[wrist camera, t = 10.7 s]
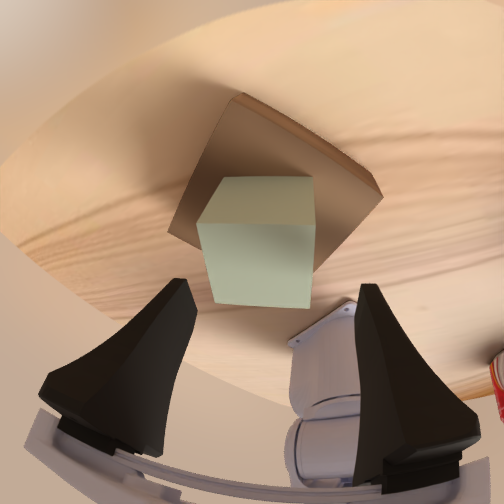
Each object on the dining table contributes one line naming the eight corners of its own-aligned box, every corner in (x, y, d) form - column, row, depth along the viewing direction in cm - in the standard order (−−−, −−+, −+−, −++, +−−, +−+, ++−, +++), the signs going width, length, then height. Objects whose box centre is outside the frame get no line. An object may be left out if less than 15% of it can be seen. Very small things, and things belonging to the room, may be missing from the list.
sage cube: (310, 249, 18) (309, 308, 14) (233, 247, 19) (214, 303, 15) (312, 176, 15) (315, 225, 11) (223, 176, 16) (196, 223, 12)
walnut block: (292, 261, 24) (290, 295, 21) (186, 203, 22) (167, 232, 19) (370, 171, 18) (383, 197, 15) (244, 92, 16) (230, 100, 13)
